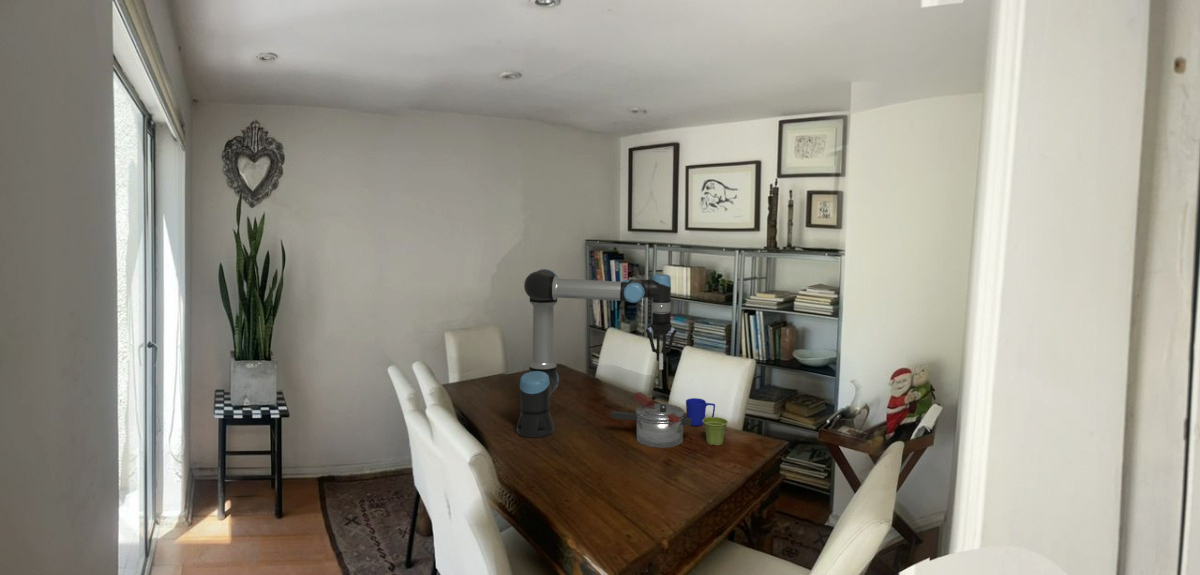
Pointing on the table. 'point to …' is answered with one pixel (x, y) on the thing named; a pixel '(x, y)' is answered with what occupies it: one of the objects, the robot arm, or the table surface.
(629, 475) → the table surface
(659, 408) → the lid
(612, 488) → the table surface
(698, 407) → the mug
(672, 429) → the pot
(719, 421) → the plant pot
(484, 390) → the table surface
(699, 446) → the table surface
